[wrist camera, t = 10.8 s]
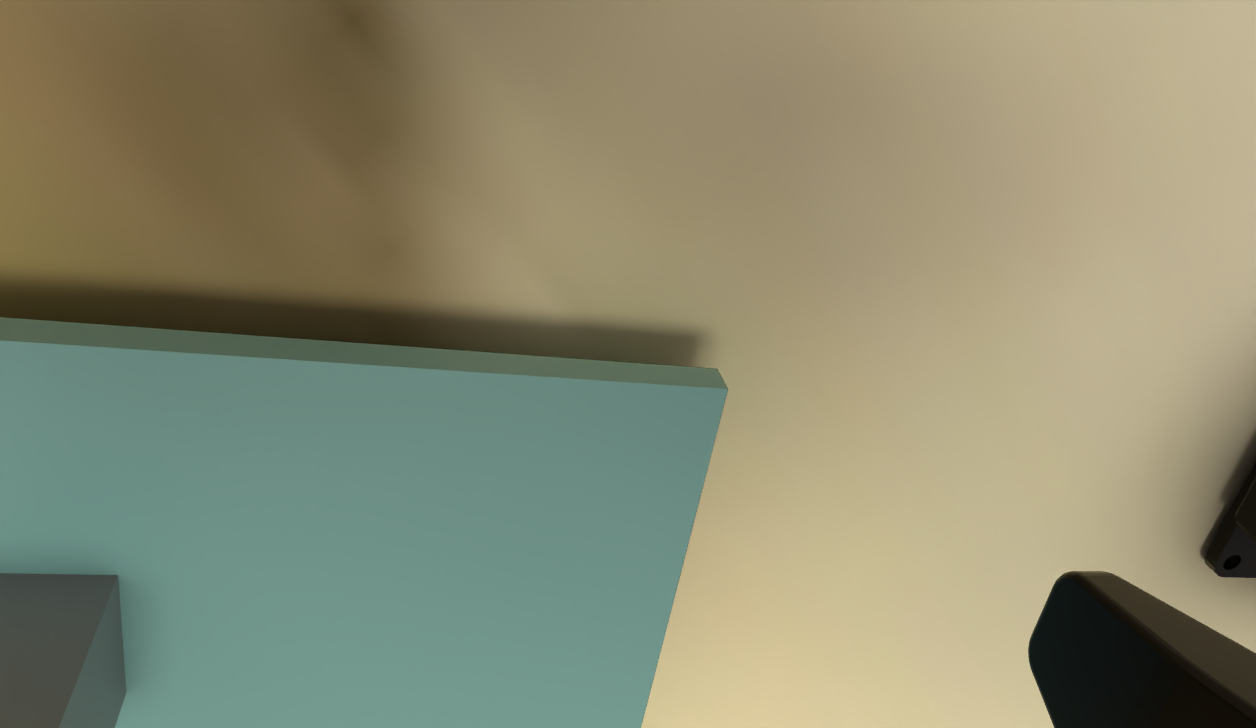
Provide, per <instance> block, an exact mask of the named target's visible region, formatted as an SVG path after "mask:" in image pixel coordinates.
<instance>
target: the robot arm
mask: <svg viewBox="0 0 1256 728" xmlns="http://www.w3.org/2000/svg"><path fill="white" fill-rule="evenodd" d="M1204 559H1205V563H1206V564H1207V565H1208V566H1209V567H1210V568H1211V569H1212V570H1213V571H1214V572H1215V573H1216V574H1217V575H1218V576H1221V577H1245V578H1256V464H1255V466H1254V467H1253V469H1252V471H1251V473H1250V475H1249V476H1248V478H1247V480H1246V482H1245V484H1244V485H1243V487H1242V489H1241V491H1240V493H1239V494H1238V496H1237V498H1236V500H1235V502H1234V503H1233V505H1232V507H1231V509H1230V511H1229V512H1228V514H1227V516H1226V518H1225V520H1224V521H1223V523H1222V525H1221V527H1220V529H1219V530H1218V532H1217V534H1216V536H1215V538H1214V539H1213V541H1212V543H1211V545H1210V546H1209V548H1208V550H1207V552H1206V555H1205V557H1204ZM1028 654H1029V662H1030V667H1031V670H1032V673H1033V675H1034V678H1035V680H1036V683H1037V685H1038V688H1039V690H1040V693H1041V695H1042V698H1043V700H1044V703H1045V705H1046V708H1047V710H1048V713H1049V715H1050V718H1051V720H1052V723H1053V725H1054V728H1256V653H1254V652H1252V651H1250V650H1249V649H1247V648H1245V647H1243V646H1242V645H1240V644H1238V643H1236V642H1234V641H1233V640H1231V639H1229V638H1227V637H1225V636H1224V635H1222V634H1220V633H1218V632H1216V631H1215V630H1213V629H1211V628H1209V627H1208V626H1206V625H1204V624H1202V623H1200V622H1199V621H1197V620H1195V619H1193V618H1191V617H1190V616H1188V615H1186V614H1184V613H1182V612H1181V611H1179V610H1177V609H1175V608H1174V607H1172V606H1170V605H1168V604H1166V603H1165V602H1163V601H1161V600H1159V599H1157V598H1156V597H1154V596H1152V595H1150V594H1148V593H1147V592H1145V591H1143V590H1141V589H1140V588H1138V587H1136V586H1134V585H1132V584H1131V583H1129V582H1127V581H1125V580H1123V579H1122V578H1120V577H1118V576H1116V575H1114V574H1112V573H1108V572H1102V571H1071V572H1067V573H1064V574H1063V575H1062V576H1061V577H1059V578H1058V579H1057V580H1056V582H1055V584H1054V585H1053V587H1052V590H1051V592H1050V594H1049V597H1048V599H1047V601H1046V603H1045V606H1044V608H1043V610H1042V612H1041V615H1040V617H1039V619H1038V622H1037V624H1036V626H1035V628H1034V631H1033V633H1032V635H1031V638H1030V641H1029V648H1028Z"/></svg>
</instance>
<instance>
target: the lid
mask: <svg viewBox="0 0 1256 728" xmlns="http://www.w3.org/2000/svg"><path fill="white" fill-rule="evenodd" d="M727 391H728V388H727V386H726V384H725V382H724V380H723V379H722V377H721V375H720V373H719V371H718V369H713V368H699V367H685V366H671V365H658V364H644V363H630V362H616V361H602V360H588V359H574V358H560V357H546V356H532V355H518V354H505V353H491V352H477V351H463V350H449V349H435V348H421V347H407V346H393V345H379V344H366V343H352V342H338V341H324V340H310V339H296V338H282V337H268V336H254V335H240V334H226V333H213V332H199V331H185V330H171V329H157V328H143V327H129V326H115V325H101V324H87V323H73V322H60V321H46V320H32V319H18V318H4V317H0V728H641V725H642V722H643V718H644V714H645V710H646V706H647V702H648V698H649V694H650V690H651V687H652V683H653V679H654V675H655V671H656V667H657V663H658V659H659V655H660V652H661V648H662V644H663V640H664V636H665V632H666V628H667V624H668V621H669V617H670V613H671V609H672V605H673V601H674V597H675V593H676V589H677V586H678V582H679V578H680V574H681V570H682V566H683V562H684V558H685V555H686V551H687V547H688V543H689V539H690V535H691V531H692V527H693V523H694V520H695V516H696V512H697V508H698V504H699V500H700V496H701V492H702V488H703V485H704V481H705V477H706V473H707V469H708V465H709V461H710V457H711V454H712V450H713V446H714V442H715V438H716V434H717V430H718V426H719V422H720V419H721V415H722V411H723V407H724V403H725V399H726V395H727Z"/></svg>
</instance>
